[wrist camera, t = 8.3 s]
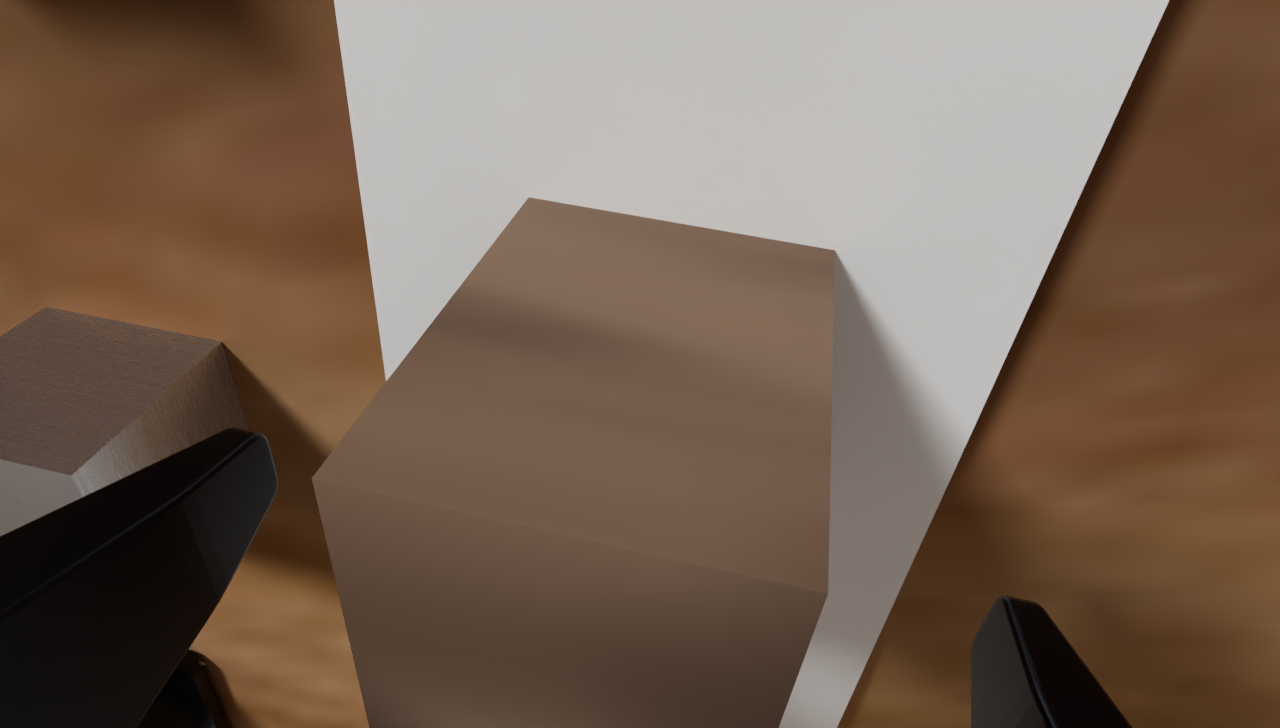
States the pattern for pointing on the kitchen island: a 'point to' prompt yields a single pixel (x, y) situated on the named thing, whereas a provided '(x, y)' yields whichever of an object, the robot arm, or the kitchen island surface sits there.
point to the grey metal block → (100, 406)
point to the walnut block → (594, 484)
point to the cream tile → (766, 195)
